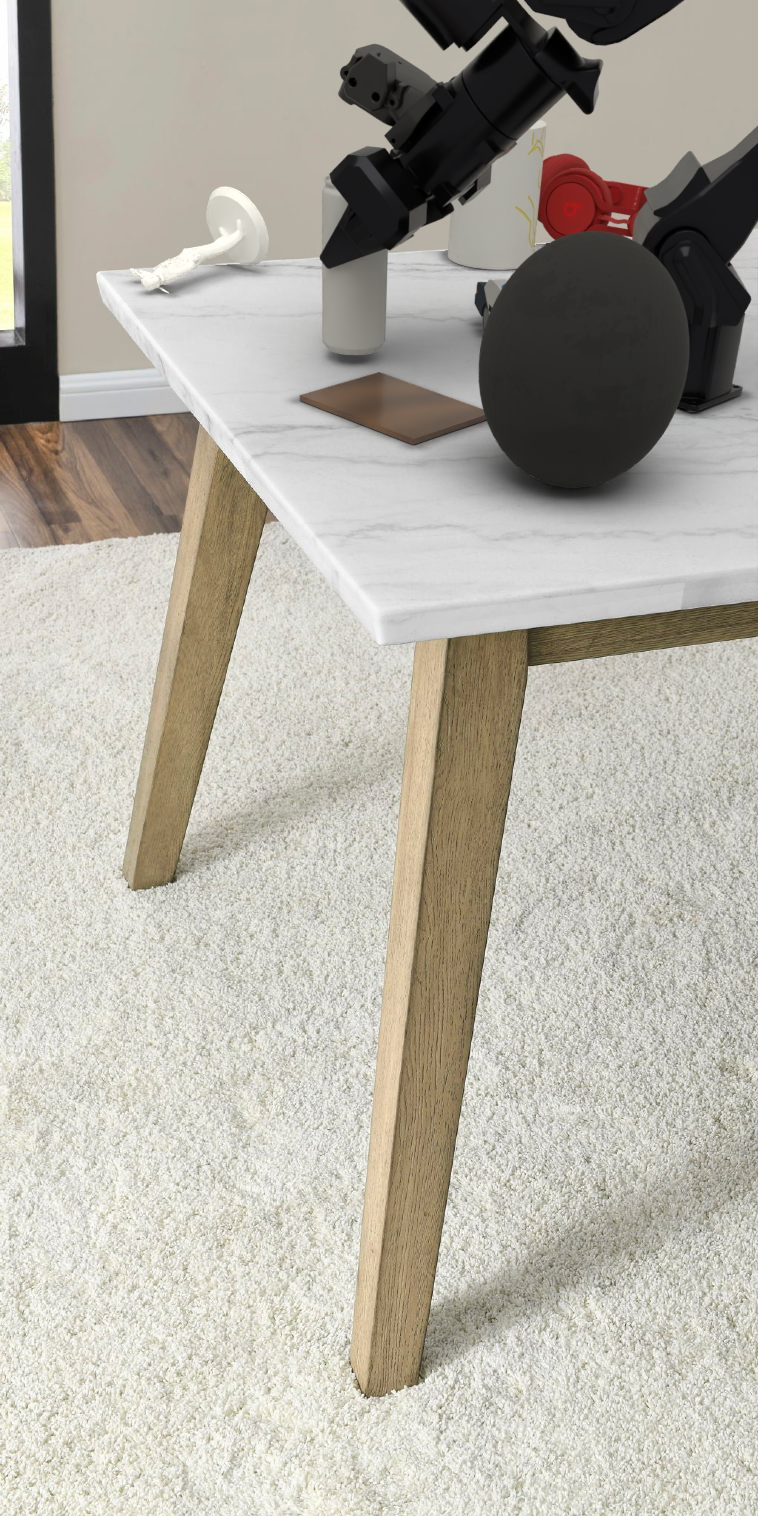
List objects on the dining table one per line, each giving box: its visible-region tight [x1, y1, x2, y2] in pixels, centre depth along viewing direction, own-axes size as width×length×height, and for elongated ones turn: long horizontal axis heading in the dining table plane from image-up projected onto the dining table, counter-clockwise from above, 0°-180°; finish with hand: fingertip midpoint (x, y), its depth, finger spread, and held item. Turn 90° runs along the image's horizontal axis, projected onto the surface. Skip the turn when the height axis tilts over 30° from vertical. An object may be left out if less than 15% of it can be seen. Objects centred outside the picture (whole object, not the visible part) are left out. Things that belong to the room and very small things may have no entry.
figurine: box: [129, 186, 270, 294], centre depth 121 cm, size 7×7×12 cm
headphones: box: [537, 153, 650, 241], centre depth 141 cm, size 15×7×20 cm
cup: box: [447, 119, 548, 271], centre depth 130 cm, size 8×8×12 cm
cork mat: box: [299, 371, 487, 446], centre depth 98 cm, size 11×8×1 cm
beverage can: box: [321, 174, 389, 356], centre depth 103 cm, size 5×5×12 cm
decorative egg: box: [478, 231, 689, 489], centre depth 84 cm, size 12×12×15 cm
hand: (337, 255), depth 103 cm, fingers closed on beverage can, 5 cm apart
